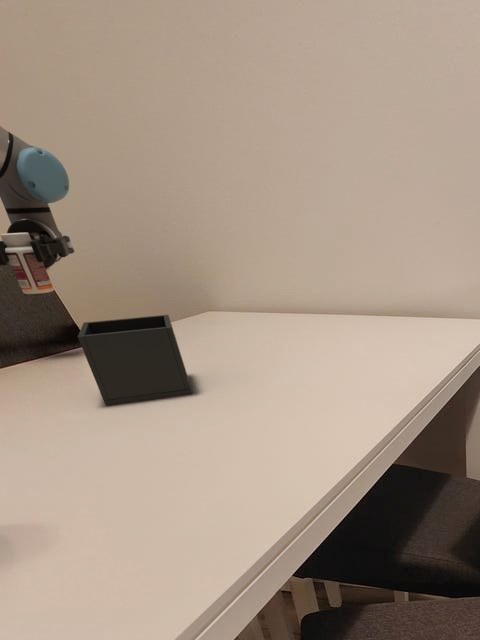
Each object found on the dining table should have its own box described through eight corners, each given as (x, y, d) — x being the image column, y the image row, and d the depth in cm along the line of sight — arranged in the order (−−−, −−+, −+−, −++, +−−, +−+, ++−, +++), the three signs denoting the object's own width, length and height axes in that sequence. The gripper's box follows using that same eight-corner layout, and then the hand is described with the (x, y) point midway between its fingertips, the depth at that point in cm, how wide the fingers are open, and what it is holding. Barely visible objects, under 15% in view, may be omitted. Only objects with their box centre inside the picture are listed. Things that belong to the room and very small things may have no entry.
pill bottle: (55, 289, 104) (32, 231, 99) (53, 292, 100) (29, 233, 95) (24, 291, 102) (-1, 233, 97) (21, 295, 99) (-5, 234, 94)
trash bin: (106, 408, 81) (77, 336, 76) (109, 388, 90) (83, 322, 84) (193, 396, 85) (171, 327, 80) (188, 378, 93) (168, 314, 88)
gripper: (95, 264, 116) (89, 276, 99) (-10, 270, 110) (-36, 284, 93) (78, 217, 111) (69, 221, 94) (-33, 221, 105) (-64, 227, 89)
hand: (17, 253), depth 94 cm, fingers closed on pill bottle, 5 cm apart
